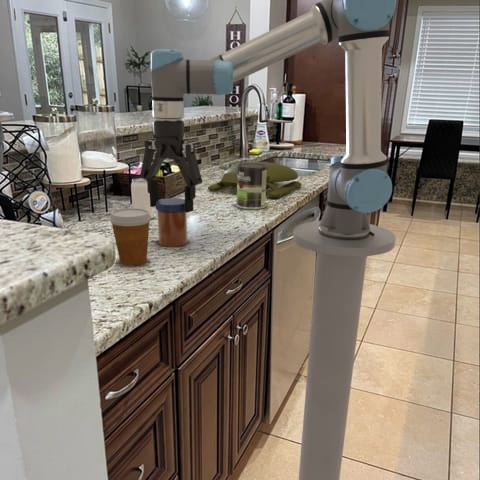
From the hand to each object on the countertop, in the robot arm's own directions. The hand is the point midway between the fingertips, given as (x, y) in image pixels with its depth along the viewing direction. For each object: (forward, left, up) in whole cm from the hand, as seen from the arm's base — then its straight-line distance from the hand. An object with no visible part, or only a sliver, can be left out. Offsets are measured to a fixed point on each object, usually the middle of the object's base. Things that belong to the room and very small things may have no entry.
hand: (171, 208), depth 132 cm
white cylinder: (+12, -26, -9) cm, 30 cm away
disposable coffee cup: (+8, +16, -9) cm, 20 cm away
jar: (0, 0, -9) cm, 9 cm away
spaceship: (-28, -77, -9) cm, 82 cm away
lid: (0, 0, +2) cm, 2 cm away
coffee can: (-23, -44, -9) cm, 51 cm away
